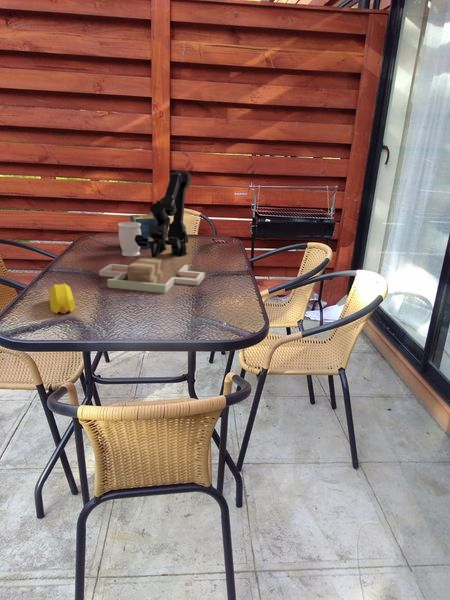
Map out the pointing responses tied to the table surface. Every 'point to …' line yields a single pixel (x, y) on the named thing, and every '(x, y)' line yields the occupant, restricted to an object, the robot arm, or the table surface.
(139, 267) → the oak block
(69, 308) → the yellow arch block
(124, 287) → the white flat frame
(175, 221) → the robot arm
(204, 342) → the table surface
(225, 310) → the table surface
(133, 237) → the jar
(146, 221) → the protein box
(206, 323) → the table surface
